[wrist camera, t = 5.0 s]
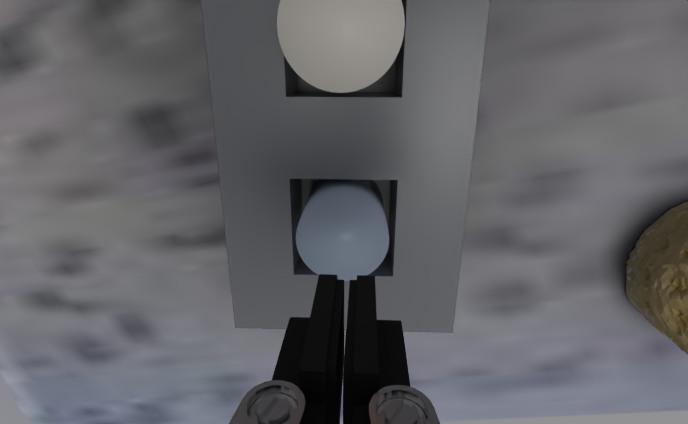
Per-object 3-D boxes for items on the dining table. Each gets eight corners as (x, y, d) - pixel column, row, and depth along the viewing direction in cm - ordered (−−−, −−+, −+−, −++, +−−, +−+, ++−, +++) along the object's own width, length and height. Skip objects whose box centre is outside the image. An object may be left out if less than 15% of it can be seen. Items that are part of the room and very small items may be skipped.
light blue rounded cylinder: (306, 168, 23) (293, 195, 18) (384, 169, 23) (391, 196, 18) (309, 239, 25) (297, 280, 20) (381, 240, 24) (387, 282, 20)
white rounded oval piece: (295, -18, 18) (273, -48, 13) (395, -19, 18) (408, -49, 13) (299, 85, 19) (280, 92, 15) (390, 86, 19) (401, 93, 15)
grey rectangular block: (205, -348, 17) (147, -505, 12) (494, -355, 17) (548, -520, 12) (256, 282, 27) (235, 327, 23) (435, 285, 27) (452, 332, 22)
